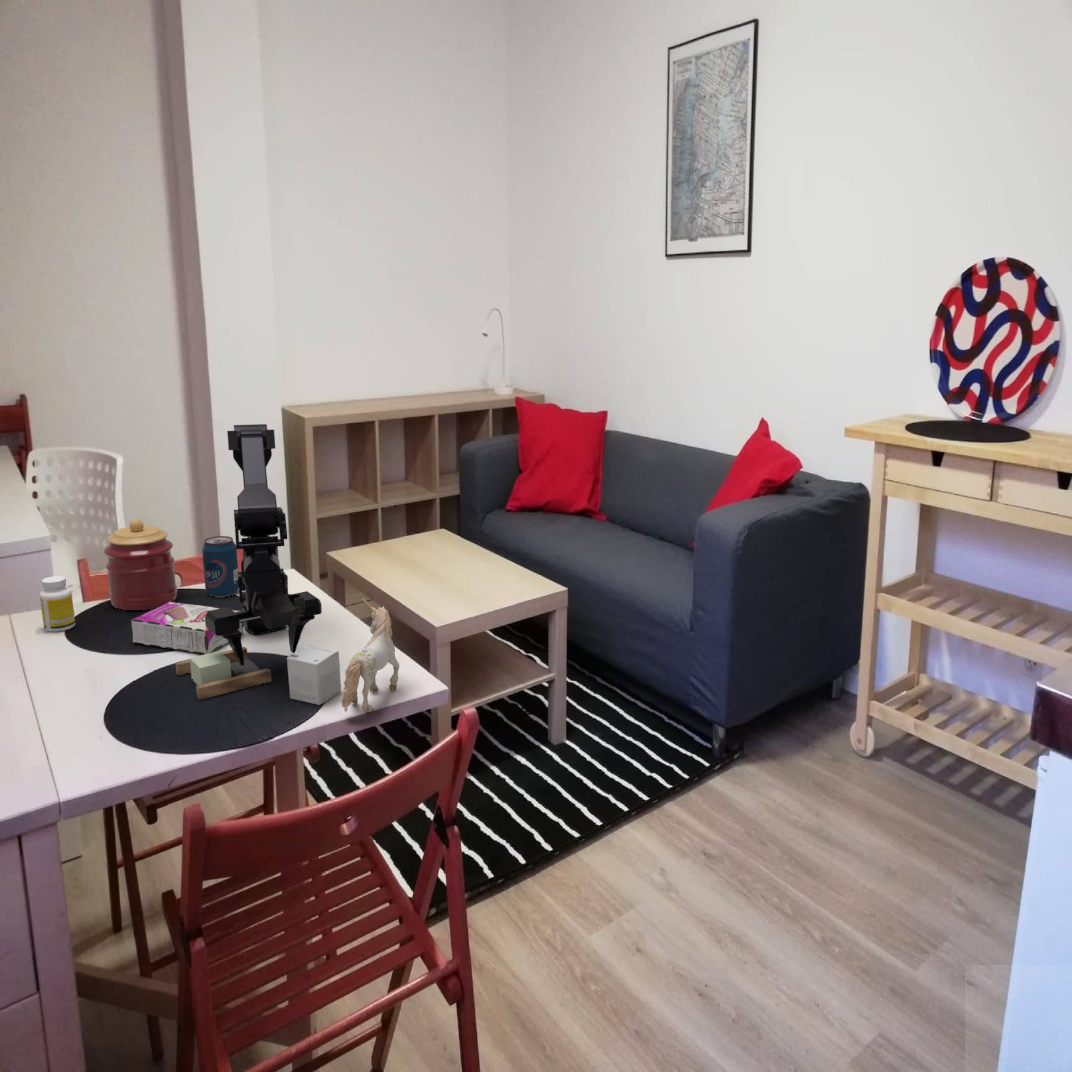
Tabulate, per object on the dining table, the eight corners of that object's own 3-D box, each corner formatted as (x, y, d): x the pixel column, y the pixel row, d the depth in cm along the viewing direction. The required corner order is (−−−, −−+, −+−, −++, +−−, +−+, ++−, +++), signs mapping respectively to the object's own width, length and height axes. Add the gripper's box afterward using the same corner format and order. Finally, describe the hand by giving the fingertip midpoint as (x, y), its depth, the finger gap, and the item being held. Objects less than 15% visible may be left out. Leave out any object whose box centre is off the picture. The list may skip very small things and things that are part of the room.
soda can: (199, 597, 189) (194, 543, 185) (216, 586, 195) (211, 534, 192) (230, 599, 188) (225, 545, 184) (245, 589, 194) (241, 536, 191)
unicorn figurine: (405, 671, 155) (404, 599, 152) (386, 724, 137) (384, 643, 133) (364, 670, 155) (362, 598, 152) (340, 723, 137) (336, 642, 133)
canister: (96, 606, 182) (85, 523, 177) (144, 587, 194) (135, 509, 189) (145, 616, 178) (135, 531, 173) (191, 596, 189) (184, 516, 184)
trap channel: (245, 657, 160) (244, 646, 159) (271, 681, 150) (270, 670, 150) (176, 673, 153) (175, 662, 152) (199, 699, 143) (198, 688, 143)
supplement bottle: (82, 624, 173) (76, 576, 170) (59, 634, 168) (52, 585, 165) (60, 620, 175) (54, 573, 172) (37, 630, 170) (30, 581, 167)
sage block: (221, 672, 154) (219, 651, 152) (231, 682, 150) (230, 660, 149) (191, 679, 151) (189, 658, 149) (202, 690, 147) (200, 668, 146)
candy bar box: (169, 599, 173) (243, 609, 169) (171, 623, 174) (244, 634, 170) (128, 618, 163) (206, 630, 158) (131, 643, 164) (208, 656, 160)
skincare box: (341, 691, 147) (340, 650, 145) (319, 706, 142) (316, 663, 140) (312, 684, 150) (309, 643, 148) (288, 698, 144) (285, 656, 142)
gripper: (223, 597, 140) (230, 688, 144) (333, 576, 151) (337, 661, 155) (200, 578, 148) (208, 665, 152) (306, 560, 159) (310, 641, 163)
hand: (267, 658), depth 155 cm, fingers open, 9 cm apart
